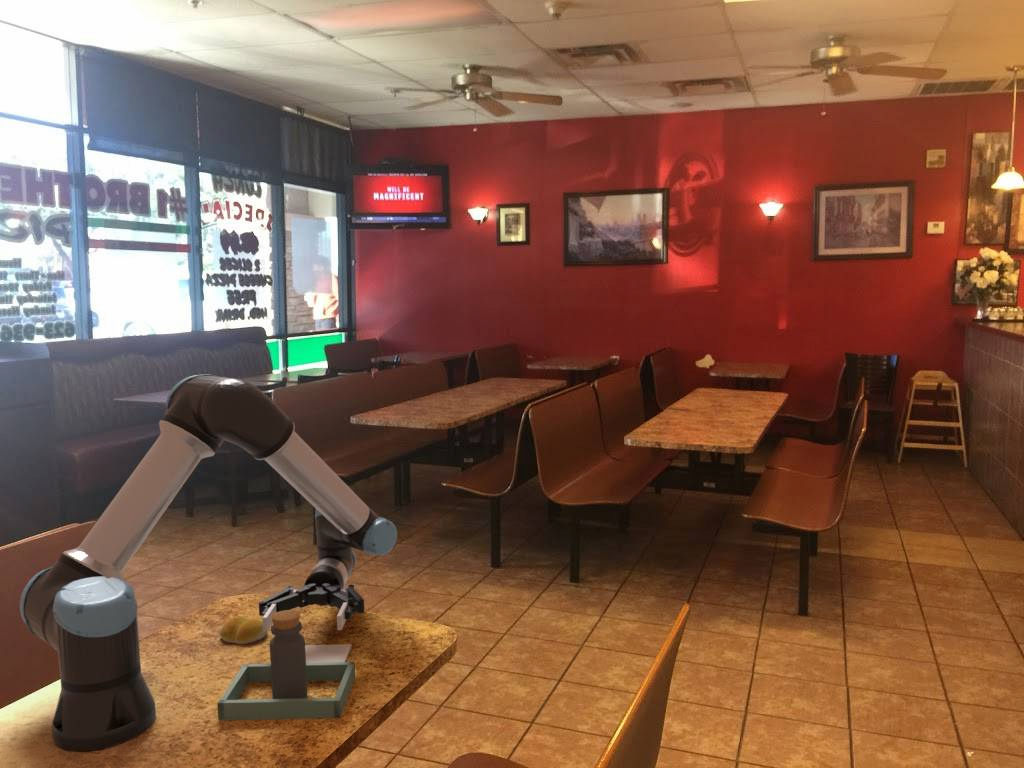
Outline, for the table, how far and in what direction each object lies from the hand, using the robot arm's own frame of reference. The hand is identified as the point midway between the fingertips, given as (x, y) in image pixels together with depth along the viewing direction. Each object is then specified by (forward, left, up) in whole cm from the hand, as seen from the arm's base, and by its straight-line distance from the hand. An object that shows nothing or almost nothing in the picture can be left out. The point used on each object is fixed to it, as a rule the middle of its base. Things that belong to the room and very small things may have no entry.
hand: (302, 624), depth 153 cm
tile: (0, +5, -9) cm, 10 cm away
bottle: (0, -10, -9) cm, 14 cm away
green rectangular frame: (0, -10, -9) cm, 14 cm away
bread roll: (-16, +16, -10) cm, 25 cm away
